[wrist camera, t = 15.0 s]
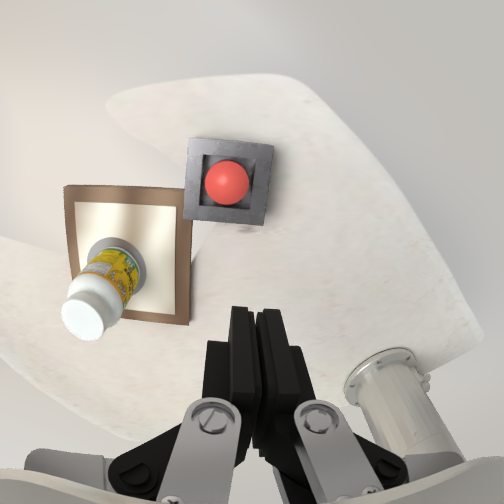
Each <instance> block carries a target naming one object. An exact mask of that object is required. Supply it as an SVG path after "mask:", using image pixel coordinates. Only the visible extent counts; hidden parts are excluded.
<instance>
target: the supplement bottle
mask: <svg viewBox="0 0 504 504" xmlns="http://www.w3.org/2000/svg"><path fill="white" fill-rule="evenodd" d="M139 279H140V270H139V266H138V263H137V262H136V260H135V259H134V258H133V256H132V255H131V254H130V253H129V252H128V251H126V250H124V249H123V248H119V247H107V248H105V249H103V250H101V251H100V252H99V253H98V254H97V255H96V256H95V257H94V258H93V259H92V260H91V261H90V262H89V263H88V264H87V265H86V266H85V267H84V268H83V270H82V271H81V272H80V273H79V274H78V275H77V276H76V277H75V278H74V280H73V281H72V282H71V284H70V286H69V289H68V299H67V300H66V302H65V303H64V304H63V306H62V310H61V315H62V320H63V322H64V324H65V326H66V327H67V328H68V330H69V331H70V332H71V333H72V334H74V335H75V336H77V337H78V338H80V339H82V340H86V341H95V340H98V339H99V338H100V337H101V336H102V335H103V333H104V332H105V330H106V329H107V328H110V327H112V326H113V325H115V324H116V323H117V322H118V321H119V319H120V317H121V315H122V313H123V311H124V310H125V307H126V305H127V304H128V301H129V300H130V298H131V296H132V294H133V292H134V290H135V288H136V286H137V284H138V282H139Z"/></svg>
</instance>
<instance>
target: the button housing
mask: <svg viewBox="0 0 504 504" xmlns="http://www.w3.org/2000/svg"><path fill="white" fill-rule="evenodd" d="M273 148H274V146H272V145H267V144H259V143H250V142H241V141H230V140H219V139H205V138H189V141H188V152H187V164H186V178H185V193H184V210H183V219H188V220H201V221H214V222H226V223H237V224H249V225H260V226H263V224H264V216H265V209H266V201H267V194H268V186H269V178H270V171H271V163H272V155H273ZM225 159H230V160H234V161H237V162H238V163H240V164H241V165H242V166H243V167H244V169H245V171H246V173H247V176H248V179H249V187H248V190H247V193H246V194H245V196H244V197H243V198H242V199H241V200H240V201H238V202H236V203H233V204H228V205H225V204H220V203H217V202H215V201H214V200H213V199H211V198H210V196H209V195H208V193H207V191H206V188H205V178H206V175H207V173H208V171H209V170H210V168H211V167H212V166H213V165H214V164H215V163H216V162H218V161H221V160H225Z"/></svg>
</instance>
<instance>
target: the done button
mask: <svg viewBox="0 0 504 504" xmlns="http://www.w3.org/2000/svg"><path fill="white" fill-rule="evenodd" d="M248 187H249V179H248V176H247V173H246V171H245V169H244V167H243V166H242V165H241V164H240V163H238V162H237V161H234V160H230V159H225V160H221V161H218V162H216V163H215V164H214V165H213V166H212V167H211V168H210V170H209V171H208V173H207V175H206V178H205V188H206V191H207V193H208V195H209V196H210V198H211V199H213V200H214V201H215V202H217V203H220V204H225V205H228V204H233V203H236V202H238V201H240V200H241V199H242V198H243V197H244V196H245V194H246V193H247V190H248Z"/></svg>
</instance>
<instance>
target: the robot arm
mask: <svg viewBox="0 0 504 504" xmlns="http://www.w3.org/2000/svg"><path fill="white" fill-rule="evenodd" d="M416 367H417V362H416V359H415V357H414V356H413V354H412V353H411V352H410V351H408V350H405V349H399V348H398V349H390V350H386V351H383V352H381V353H378V354H376V355H374V356H372V357H371V358H369V359H368V360H366V361H364V362H363V363H362V364H361V365H360V366H358V367H357V368H356V369H355V370H354V371H353V372H352V374H351V375H350V376H349V378H348V380H347V382H346V384H345V387H344V394H345V397H346V399H347V401H348V402H349V403H350V404H352V405H354V406H358V407H361V409H362V411H363V414H364V416H365V418H366V421H367V423H368V426H369V428H370V430H371V433H372V435H373V437H374V440H375V443H376V444H374V443H372V442H370V441H368V440H366V439H364V438H363V437H361V436H359V435H357V434H355V433H353V432H352V430H351V428H350V427H349V425H348V423H347V421H346V419H345V417H344V415H343V414H342V412H341V411H340V410H339V408H337V407H336V406H335V405H333V404H331V403H329V402H327V401H322V400H316V397H315V394H314V390H313V387H312V384H311V380H310V377H309V373H308V370H307V367H306V363H305V360H304V357H303V353H302V350H301V348H300V347H299V346H289V343H288V339H287V335H286V332H285V328H284V324H283V320H282V316H281V312H280V310H279V309H264V310H263V312H258V313H257V318H256V324H255V321H254V312H251V311H248V307H239V306H232V310H231V319H230V328H229V337H228V342H220V341H210V340H208V342H207V351H206V360H205V370H204V380H203V391H202V399H200V400H197V401H195V402H193V403H192V404H191V405H190V406H189V407H188V409H187V411H186V413H185V416H184V419H183V422H182V423H181V424H179V425H177V426H175V427H174V428H172V429H170V430H168V431H166V432H165V433H163V434H161V435H159V436H157V437H155V438H153V439H152V440H150V441H148V442H146V443H144V444H142V445H140V446H138V447H136V448H134V449H132V450H130V451H128V452H126V453H124V454H122V455H120V456H118V457H117V458H115V459H109V458H104V457H103V456H102V455H90V454H79V453H71V452H63V451H57V450H51V449H36V450H33V451H32V452H31V453H30V454H29V455H28V456H27V458H26V461H25V467H24V470H22V469H0V504H228V499H229V493H230V487H231V482H232V475H233V469H234V468H235V467H236V466H238V465H239V464H240V463H241V462H243V461H244V460H245V456H246V452H247V448H249V445H250V441H251V437H252V443H253V448H254V449H259V457H265V460H266V461H267V462H268V463H270V464H271V465H273V473H274V476H275V479H276V482H277V485H278V489H279V492H280V495H281V498H282V501H283V504H504V457H500V456H493V457H482V458H477V459H473V460H470V461H466V459H465V458H464V456H463V454H462V453H461V451H460V449H459V448H458V446H457V444H456V443H455V441H454V439H453V437H452V436H451V434H450V432H449V431H448V429H447V427H446V426H445V424H444V422H443V421H442V419H441V417H440V415H439V414H438V412H437V411H436V409H435V407H434V406H433V404H432V402H431V401H430V399H429V397H428V396H427V394H426V393H425V392H428V391H429V389H430V385H429V383H428V381H429V380H430V375H429V374H423V375H419V374H418V372H417V371H416Z"/></svg>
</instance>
